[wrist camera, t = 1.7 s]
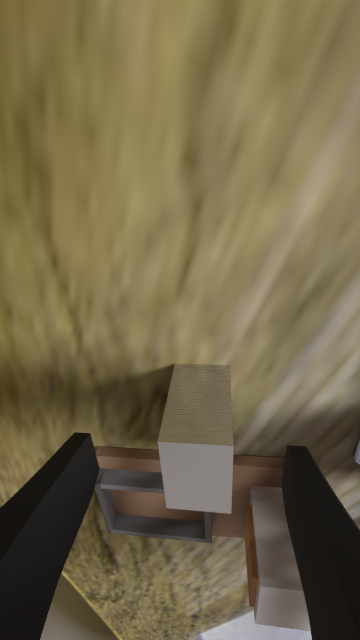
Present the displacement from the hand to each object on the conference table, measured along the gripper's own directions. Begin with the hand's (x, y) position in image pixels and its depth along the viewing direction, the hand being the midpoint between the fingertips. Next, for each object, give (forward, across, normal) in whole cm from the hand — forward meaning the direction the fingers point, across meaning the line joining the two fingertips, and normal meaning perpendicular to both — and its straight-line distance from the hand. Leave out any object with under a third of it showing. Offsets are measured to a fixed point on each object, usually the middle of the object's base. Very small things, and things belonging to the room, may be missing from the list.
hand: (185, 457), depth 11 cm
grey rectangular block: (+10, 0, +6) cm, 12 cm away
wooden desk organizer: (+10, 0, +18) cm, 21 cm away
